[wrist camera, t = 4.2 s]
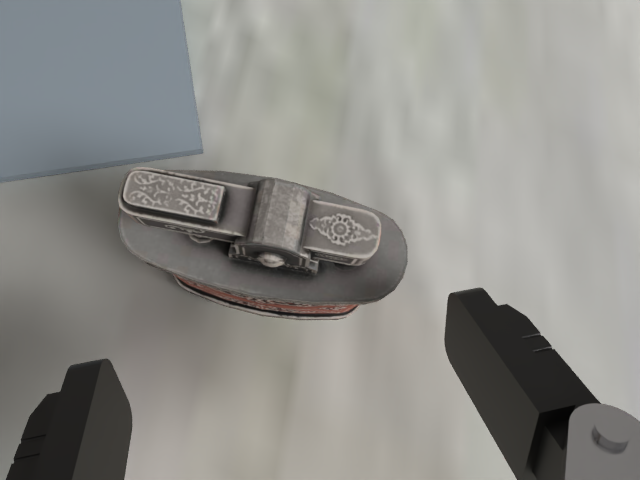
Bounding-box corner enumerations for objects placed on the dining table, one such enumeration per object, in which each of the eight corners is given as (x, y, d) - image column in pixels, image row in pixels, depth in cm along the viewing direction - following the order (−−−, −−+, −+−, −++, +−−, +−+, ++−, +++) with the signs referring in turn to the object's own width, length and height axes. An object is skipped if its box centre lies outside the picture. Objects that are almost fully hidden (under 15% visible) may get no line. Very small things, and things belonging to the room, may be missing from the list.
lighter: (368, 255, 21) (444, 173, 11) (356, 333, 20) (427, 315, 11) (185, 221, 21) (103, 105, 11) (166, 298, 20) (59, 247, 10)
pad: (169, -69, 24) (167, -78, 23) (203, 153, 21) (201, 148, 21) (-91, -46, 22) (-99, -55, 22) (-88, 195, 20) (-96, 191, 20)
